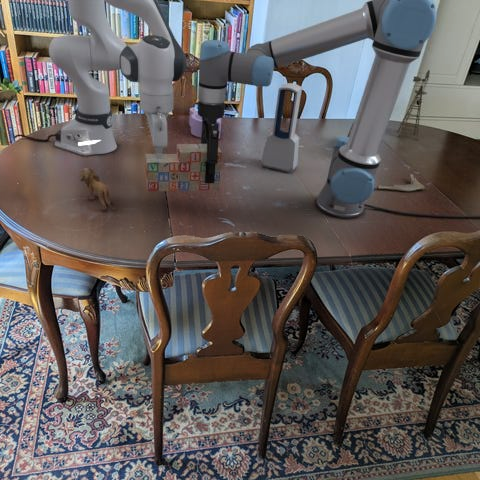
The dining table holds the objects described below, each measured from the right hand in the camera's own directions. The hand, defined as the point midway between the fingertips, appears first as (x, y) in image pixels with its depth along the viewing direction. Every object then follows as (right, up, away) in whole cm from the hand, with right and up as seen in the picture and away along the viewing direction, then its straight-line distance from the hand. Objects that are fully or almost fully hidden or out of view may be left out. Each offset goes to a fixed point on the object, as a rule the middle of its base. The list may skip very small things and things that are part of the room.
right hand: (207, 177), depth 141 cm
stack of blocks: (-7, -3, 0) cm, 8 cm away
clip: (-6, +28, +60) cm, 66 cm away
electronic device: (+24, +8, +35) cm, 43 cm away
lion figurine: (-33, -7, 0) cm, 34 cm away
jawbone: (+67, +1, +31) cm, 74 cm away
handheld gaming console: (+56, +19, +56) cm, 82 cm away
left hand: (-14, +6, -8) cm, 17 cm away
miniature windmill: (+89, +30, +80) cm, 123 cm away
